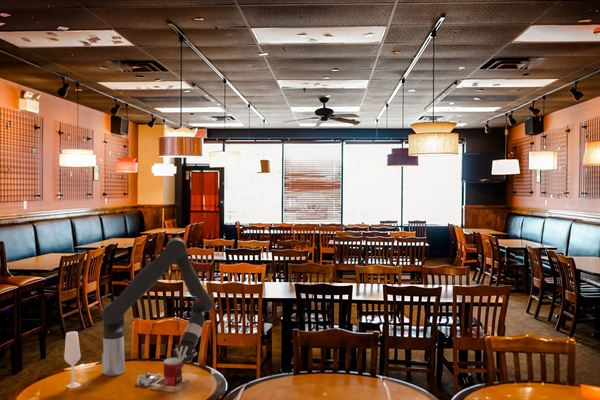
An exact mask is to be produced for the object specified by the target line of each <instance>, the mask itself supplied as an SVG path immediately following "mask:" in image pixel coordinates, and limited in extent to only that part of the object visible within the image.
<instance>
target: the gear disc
mask: <svg viewBox="0 0 600 400" xmlns="http://www.w3.org/2000/svg"><path fill="white" fill-rule="evenodd" d="M159 379H160V374H158V373H152V372H146V373H145V374H140V375H137V379H136V386H138V387H139V386H143V387H146V388H147V387H150V385H151V384H152V383H154V382H156V381H157V380H159Z"/></svg>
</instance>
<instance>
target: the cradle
mask: <svg viewBox="0 0 600 400" xmlns="http://www.w3.org/2000/svg"><path fill="white" fill-rule="evenodd" d="M189 384H190V379H184V380H182V382H181V383H180V384H178V385H177V386H175V387H174V386H167V385H164V376H163V377H161V378H159V380H157V381H156V382H154V383H152V384H151V385H150V386H149V387H150V389H151V390H156V391H163V392H169V393H170V392H171V393H179V391H181V390H182V389H184V388H185V387H186V386H188V385H189Z"/></svg>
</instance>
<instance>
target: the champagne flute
mask: <svg viewBox="0 0 600 400" xmlns="http://www.w3.org/2000/svg"><path fill="white" fill-rule="evenodd" d="M64 343H65V344H64V346H65V347H64V358H63V359H64V361H65V362H66V364H68V365H70V366H71V370H70V371H71V383H69V384H67V385H66V386H67V387H69V388H75V387H76V389H78V388H77V387H79V386H80V385H81V386H82V383H78V382H76V381H75V380H76V379H75V378H76V377H75V365H76V364H77V363H78V362H79V361H80V359H81V357H82V355H81V349H80V340H79V333H78V331H74V330H73V331H68V332H66V334H65V342H64ZM79 388H80V387H79Z"/></svg>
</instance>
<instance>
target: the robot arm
mask: <svg viewBox="0 0 600 400" xmlns="http://www.w3.org/2000/svg"><path fill="white" fill-rule="evenodd" d="M174 264H176V265H177V268H178V269H179V271H180V275H181V277H182V280H183V282H184V284H185V286H186V289H187V291H188V293H189V295H190V296H191V297H195V298H196V299H195V300H194V301H193V303H192V305H191V310H190V318H189V320H188V323H187V325H186V327H185V329H184V331H183V334H182V336H181V339H180V344H178V346H177V347H175V348H172V350H171V351H172V353H173V358H180V359H181V360H182V369H183V368H184V365H185V364H186V363H190V362H191V361H192V360H193V359H194V358H196V356H198V355H199V354H198V352H197V351H196V346H197V344H198V343H199V339H200V337H201V333H202V329H203V326H204V324H205V321H206V317H204V315H203V313H207V312H211V311H212V310H213V308H214V301H213V298H212V297H211V295H210V294H209V293H208V292H207V290H206V289H205V288H204V287H203V284H202V282H201V280H200V278H199V276H198V274H197V272H196V270H195V269H194V267H193V265H192V262H191V261H190V258H189V256H188V251H187V244H186V243H185V241H184V240H183V239H182V238H179V237H172V238H170V239H169V240H168V241H167V243H166V246H165V248H164V249H163V250H162V251H161V252H160V254H159V255H158V256H157V257H156V258H155V259H153V260H152V261H151V262H149V263H148V264H147V265H146V266H144V267H143V268H142V269H141V270H140V271H139V272H138V273H137V274H136V275H135V276H133V278H132V279H131V281H130V282H129V283H128V284H127V286H126V287H125V288H124V290H123V291H122V292H121V294H120V295H118V296H117V297H116V298H115V299H114V300H112V301H110V302H108V303H107V304H105V306H104V308H103V309H102V312H101V318H102V319H101V320H102V321H103V331H102V337H103V338H102V341H103V342H102V343H103V352H102V353H101V366H102V368H101V370H102V371H101V372H102V374H104V376H108V377H109V376H119V375H122V374H123V373H125V372H126V371H125V370H126V369H125V368H126V367H125V339H124V338H125V337H124V336H125V335H124V334H125V332H124V331H125V314H126V313H127V311H128V310H129V309H130V308H131V307H132V306H133V305H134V304H135V303H136V302H137V301H139V300H140V299H141V298H142V297H143V296H144V295H145V294H147V293H148V292H149V291H150V290H151V288H153V286H154V285H155V284H156V283H157V282H159V280H160V279H161V278H162V276H164V274H165V273H166V272H167V271H168V269H169V268H170V267H171V266H172V265H174Z"/></svg>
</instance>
